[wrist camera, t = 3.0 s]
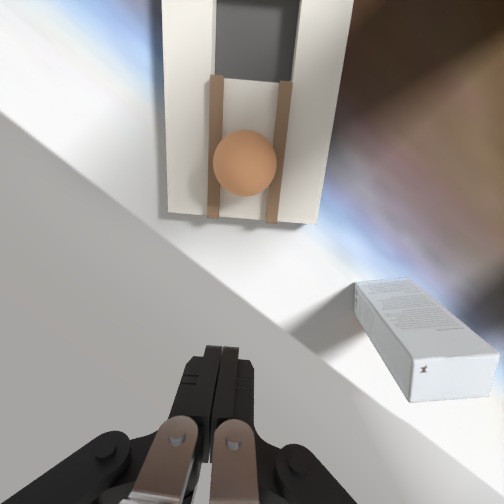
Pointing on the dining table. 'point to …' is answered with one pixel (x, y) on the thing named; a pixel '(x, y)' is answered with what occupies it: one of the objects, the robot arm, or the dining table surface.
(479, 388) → the skincare box
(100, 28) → the dining table surface
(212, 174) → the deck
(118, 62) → the dining table surface
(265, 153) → the ball
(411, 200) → the dining table surface
